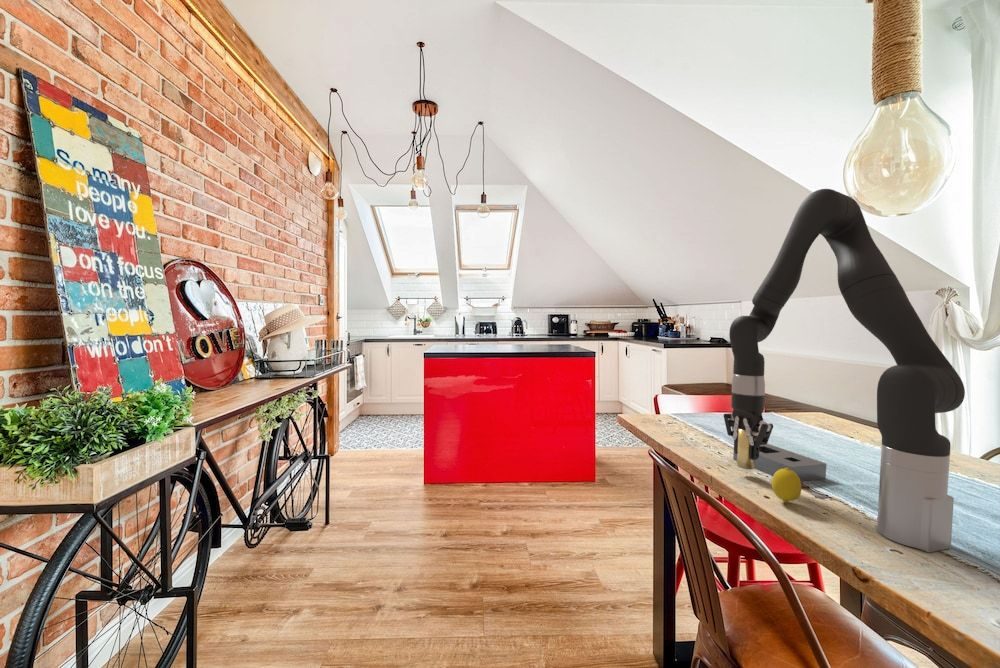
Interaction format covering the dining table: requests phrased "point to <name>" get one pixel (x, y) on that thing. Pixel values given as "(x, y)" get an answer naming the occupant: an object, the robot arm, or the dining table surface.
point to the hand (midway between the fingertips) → (745, 456)
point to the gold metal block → (744, 450)
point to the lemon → (786, 485)
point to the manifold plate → (788, 463)
